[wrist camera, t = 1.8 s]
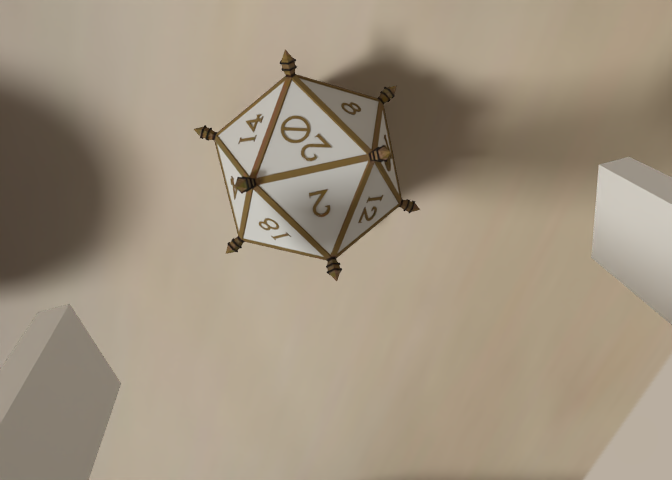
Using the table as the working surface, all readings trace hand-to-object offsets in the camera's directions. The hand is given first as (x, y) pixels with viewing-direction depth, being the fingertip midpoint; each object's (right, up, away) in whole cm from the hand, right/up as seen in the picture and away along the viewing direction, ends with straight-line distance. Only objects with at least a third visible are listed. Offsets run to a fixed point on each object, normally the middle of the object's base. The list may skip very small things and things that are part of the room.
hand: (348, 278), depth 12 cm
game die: (-2, +6, +12) cm, 13 cm away
